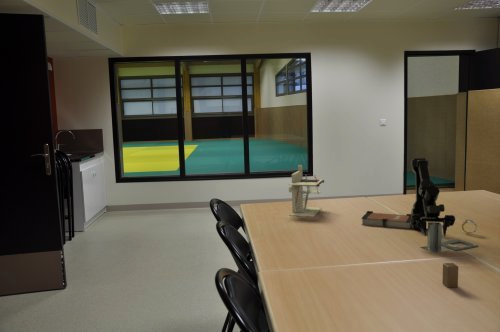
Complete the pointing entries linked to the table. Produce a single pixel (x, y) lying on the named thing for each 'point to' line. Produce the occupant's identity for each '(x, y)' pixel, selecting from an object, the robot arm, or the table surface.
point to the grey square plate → (434, 249)
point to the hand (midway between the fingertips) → (435, 236)
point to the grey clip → (434, 235)
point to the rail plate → (449, 245)
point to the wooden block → (450, 275)
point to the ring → (467, 222)
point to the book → (387, 220)
